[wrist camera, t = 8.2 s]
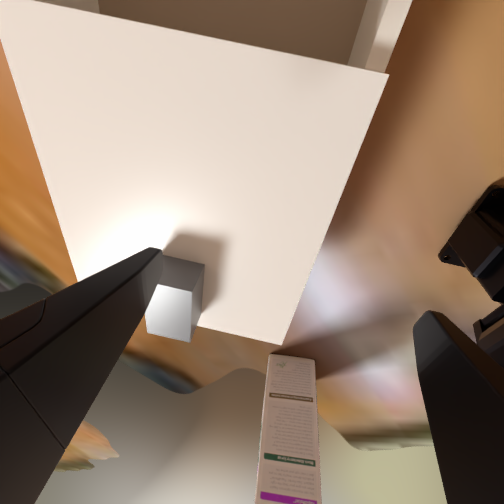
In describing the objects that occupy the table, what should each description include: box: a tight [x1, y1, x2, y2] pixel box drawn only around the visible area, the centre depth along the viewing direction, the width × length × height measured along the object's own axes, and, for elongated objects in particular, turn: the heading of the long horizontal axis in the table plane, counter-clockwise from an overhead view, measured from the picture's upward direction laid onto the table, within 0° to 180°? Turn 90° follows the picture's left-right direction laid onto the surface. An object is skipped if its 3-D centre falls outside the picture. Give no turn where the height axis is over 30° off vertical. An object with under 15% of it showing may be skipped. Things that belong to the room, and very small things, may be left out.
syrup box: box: [255, 354, 322, 504], centre depth 30 cm, size 6×6×14 cm
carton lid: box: [0, 0, 389, 345], centre depth 15 cm, size 16×18×3 cm
